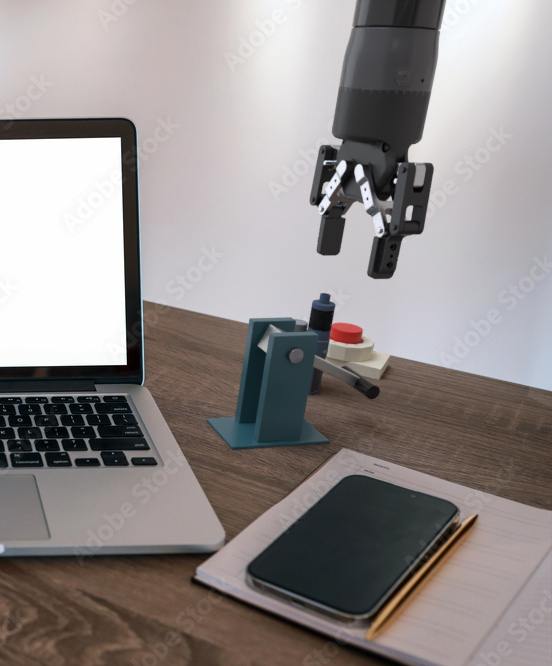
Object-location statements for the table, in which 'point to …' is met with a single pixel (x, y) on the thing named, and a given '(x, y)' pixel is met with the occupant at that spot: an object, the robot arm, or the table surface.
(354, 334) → the button
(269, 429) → the bracket
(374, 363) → the button box
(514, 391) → the table surface
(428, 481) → the table surface
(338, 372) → the lever
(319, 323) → the vaping device
